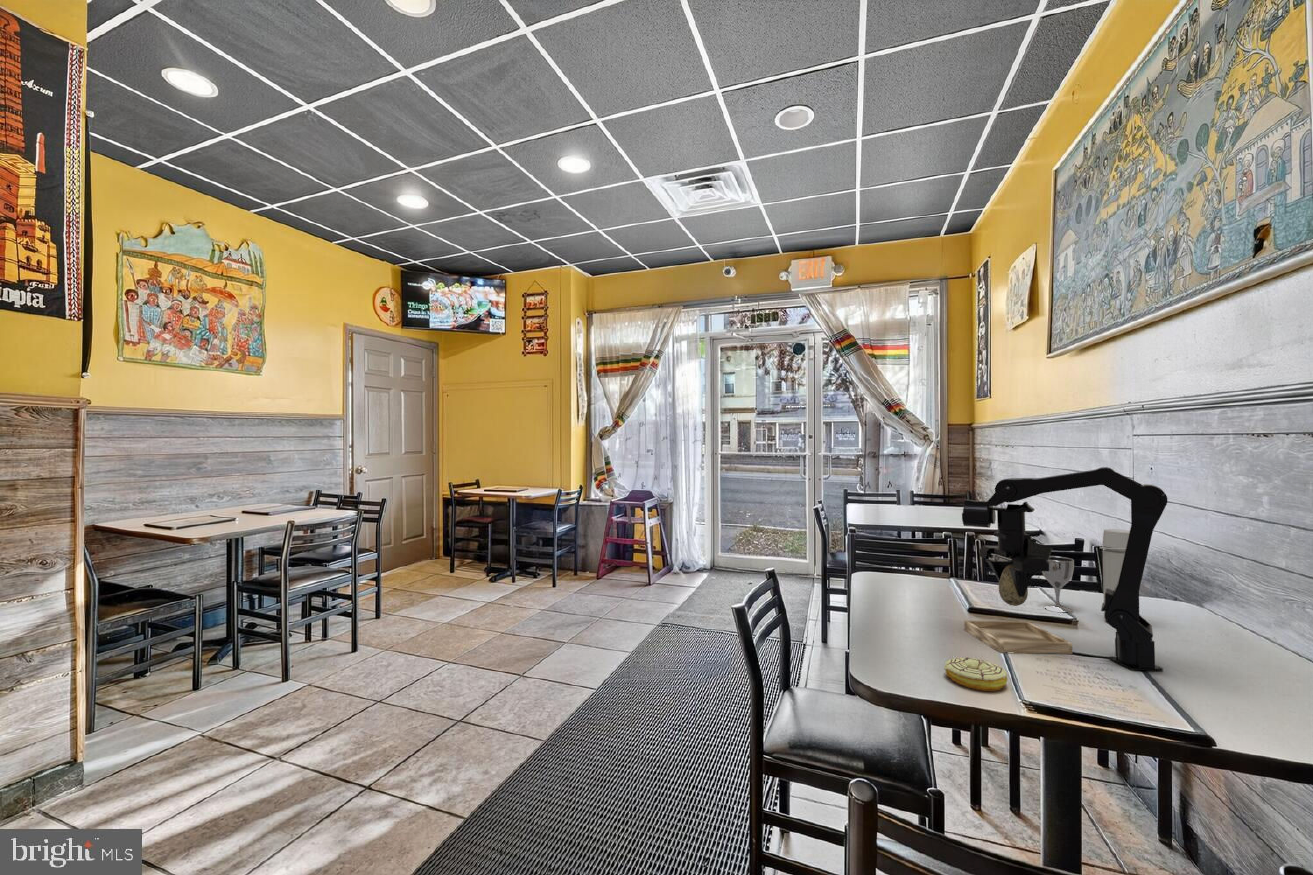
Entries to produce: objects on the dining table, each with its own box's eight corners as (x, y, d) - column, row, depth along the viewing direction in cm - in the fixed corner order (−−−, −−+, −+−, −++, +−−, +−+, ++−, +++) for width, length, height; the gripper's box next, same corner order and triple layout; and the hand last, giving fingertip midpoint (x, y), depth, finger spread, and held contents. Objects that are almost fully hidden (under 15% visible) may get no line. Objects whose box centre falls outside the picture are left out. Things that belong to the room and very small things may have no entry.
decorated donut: (965, 668, 116) (965, 650, 116) (1018, 687, 106) (1018, 668, 106) (934, 677, 111) (934, 658, 111) (987, 698, 101) (986, 678, 101)
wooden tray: (1072, 654, 123) (1072, 643, 123) (1000, 652, 124) (1000, 642, 124) (1027, 630, 139) (1027, 621, 139) (964, 629, 140) (964, 620, 140)
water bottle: (1147, 629, 140) (1145, 533, 141) (1113, 627, 142) (1111, 532, 142) (1124, 618, 149) (1122, 528, 150) (1092, 616, 151) (1090, 527, 151)
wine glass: (1063, 605, 161) (1062, 555, 162) (1081, 613, 153) (1080, 561, 154) (1035, 605, 162) (1034, 555, 163) (1052, 613, 154) (1050, 560, 155)
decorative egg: (995, 605, 132) (994, 564, 132) (1003, 600, 136) (1001, 561, 136) (1024, 610, 127) (1023, 568, 128) (1031, 605, 131) (1029, 564, 132)
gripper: (1072, 534, 122) (1075, 603, 122) (1020, 524, 141) (1022, 584, 140) (1022, 535, 123) (1024, 603, 122) (977, 524, 141) (979, 583, 141)
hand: (1013, 593), depth 131 cm, fingers closed on decorative egg, 6 cm apart
